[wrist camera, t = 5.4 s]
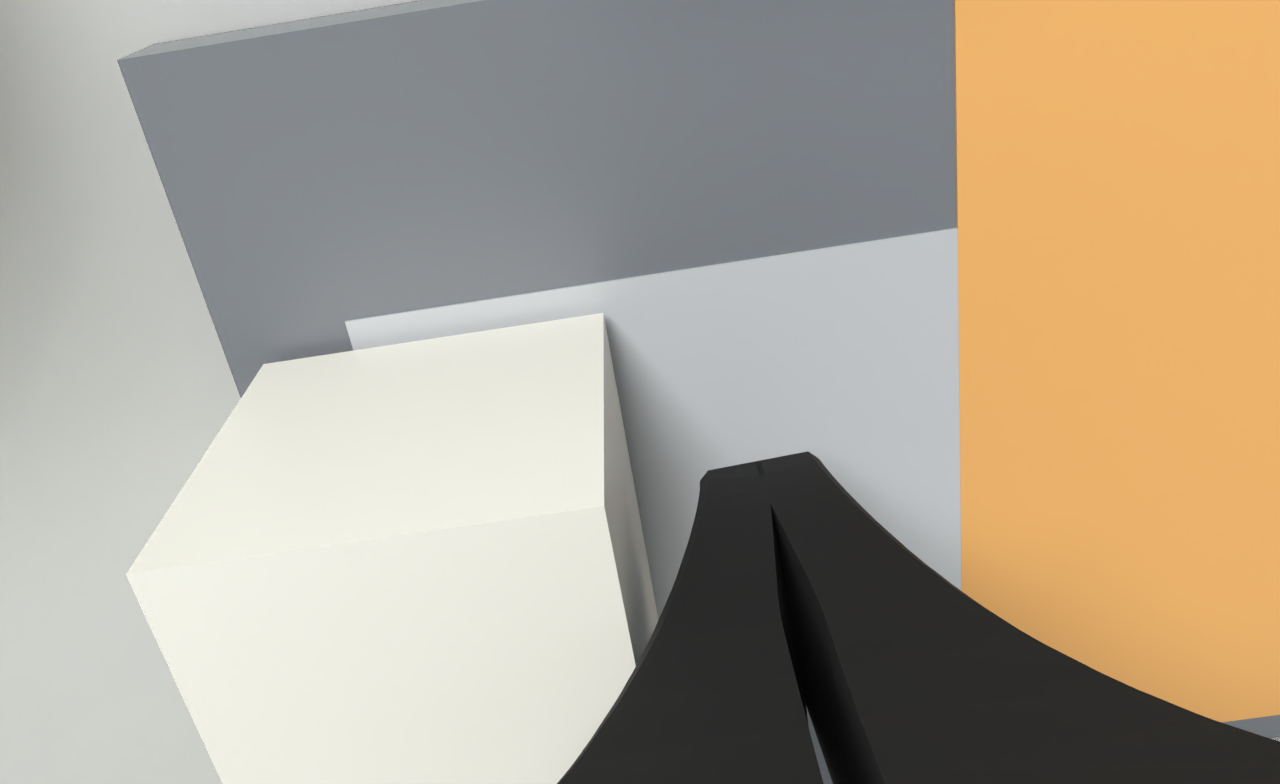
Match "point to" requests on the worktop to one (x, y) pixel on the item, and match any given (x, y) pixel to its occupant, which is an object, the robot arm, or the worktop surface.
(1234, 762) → the robot arm
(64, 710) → the worktop surface
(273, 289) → the breaker panel
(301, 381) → the cream white cube
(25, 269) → the worktop surface
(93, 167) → the worktop surface
